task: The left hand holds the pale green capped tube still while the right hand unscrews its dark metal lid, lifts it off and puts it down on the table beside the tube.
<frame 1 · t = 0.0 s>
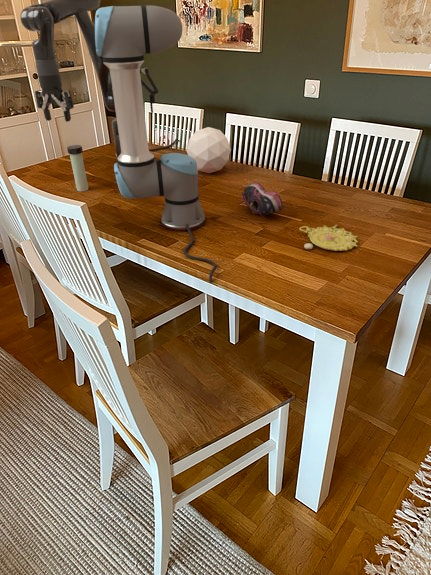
left hand: (58, 120, 166), 29 cm above the table, tool pointing down, fingers open, 8 cm apart
right hand: (135, 113, 181), 28 cm above the table, tool pointing down, fingers open, 13 cm apart
lid: (74, 147, 178), point 18 cm above the table, screwed on, not yet turned
decorative object: (328, 239, 142), on the table
athletic shoe: (257, 211, 163), on the table
sphere: (209, 171, 203), on the table
pale green capped tube: (82, 189, 187), on the table
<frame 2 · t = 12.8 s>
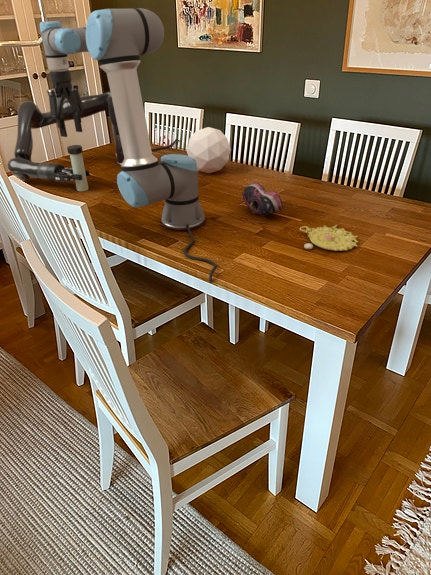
left hand: (85, 175, 183), 6 cm above the table, tool horizontal, fingers closed on pale green capped tube, 4 cm apart
right hand: (71, 133, 175), 23 cm above the table, tool pointing down, fingers open, 8 cm apart
pale green capped tube: (82, 189, 187), on the table, touching left hand
everything else where it was.
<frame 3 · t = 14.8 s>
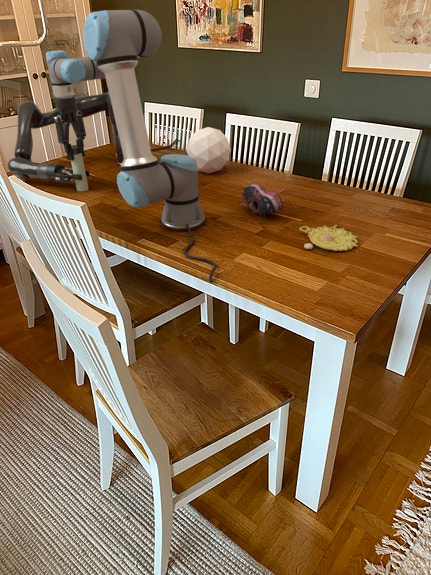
left hand: (85, 175, 183), 6 cm above the table, tool horizontal, fingers closed on pale green capped tube, 4 cm apart
right hand: (76, 157, 180), 13 cm above the table, tool pointing down, fingers closed on lid, 6 cm apart
lid: (74, 147, 178), point 18 cm above the table, screwed on, not yet turned, touching right hand
pale green capped tube: (82, 189, 187), on the table, touching left hand
everything else where it was.
when the right hand's fingers open (0 cm above the table, at t = 26.8 s): lid drops 2 cm, point 2 cm above the table.
when the left hand's fingers open (6 cm above the table, at t = 27.9 s): pale green capped tube stays where it is, on the table.
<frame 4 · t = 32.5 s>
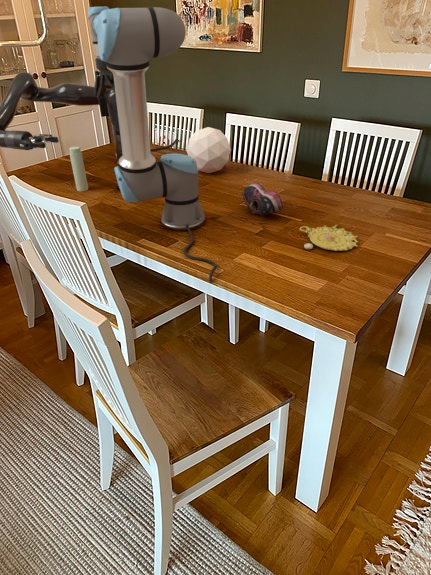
left hand: (51, 142, 180), 19 cm above the table, tool horizontal, fingers open, 8 cm apart
right hand: (114, 118, 171), 28 cm above the table, tool pointing down, fingers open, 13 cm apart
lid: (123, 184, 186), point 2 cm above the table, off its thread
pale green capped tube: (82, 189, 187), on the table
everything else where it was.
at the end: lid came off its thread; lid point 1.8 cm above the table; the left hand is holding nothing; the right hand is holding nothing; pale green capped tube tilted 0°; pale green capped tube moved 0.0 cm from its start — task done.
